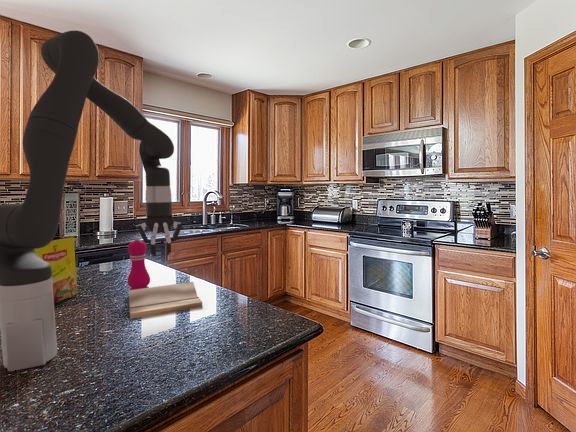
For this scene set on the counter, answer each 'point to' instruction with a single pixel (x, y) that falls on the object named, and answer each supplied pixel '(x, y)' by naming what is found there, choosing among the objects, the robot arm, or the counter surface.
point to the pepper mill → (138, 265)
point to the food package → (61, 267)
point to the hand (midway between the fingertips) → (161, 255)
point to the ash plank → (161, 294)
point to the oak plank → (164, 307)
